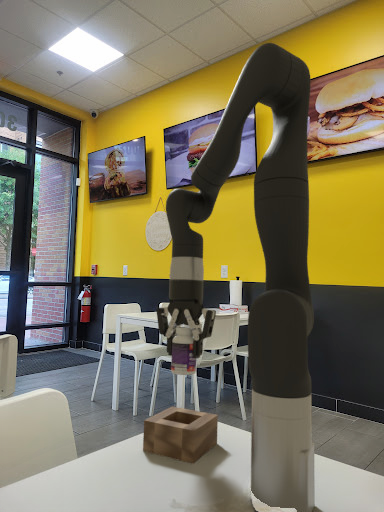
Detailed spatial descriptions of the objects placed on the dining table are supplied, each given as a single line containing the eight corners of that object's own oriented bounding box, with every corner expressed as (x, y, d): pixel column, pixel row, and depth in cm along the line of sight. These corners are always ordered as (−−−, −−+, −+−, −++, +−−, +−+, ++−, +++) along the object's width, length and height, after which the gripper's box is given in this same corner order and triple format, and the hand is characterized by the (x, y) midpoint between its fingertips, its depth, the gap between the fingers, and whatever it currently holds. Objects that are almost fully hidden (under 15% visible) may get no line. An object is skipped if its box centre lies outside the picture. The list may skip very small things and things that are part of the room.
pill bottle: (193, 376, 77) (194, 328, 78) (168, 374, 78) (170, 327, 79) (198, 371, 82) (199, 327, 84) (174, 369, 84) (176, 325, 85)
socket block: (217, 443, 81) (217, 414, 82) (193, 463, 71) (194, 430, 72) (171, 433, 87) (172, 406, 87) (142, 450, 76) (144, 420, 77)
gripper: (222, 279, 83) (221, 357, 81) (167, 279, 89) (164, 351, 87) (209, 277, 76) (207, 362, 74) (150, 277, 83) (146, 355, 81)
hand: (184, 356), depth 81 cm, fingers closed on pill bottle, 5 cm apart
